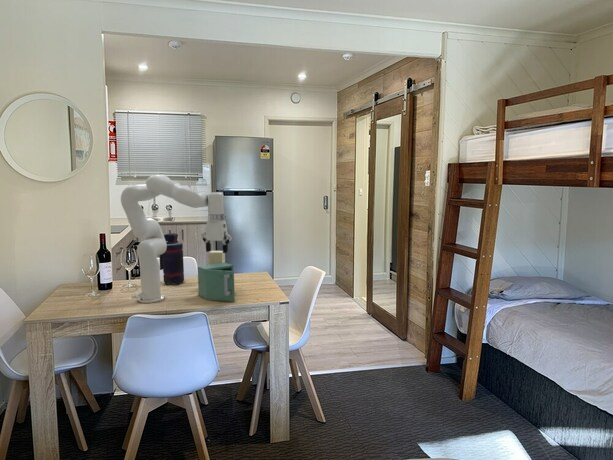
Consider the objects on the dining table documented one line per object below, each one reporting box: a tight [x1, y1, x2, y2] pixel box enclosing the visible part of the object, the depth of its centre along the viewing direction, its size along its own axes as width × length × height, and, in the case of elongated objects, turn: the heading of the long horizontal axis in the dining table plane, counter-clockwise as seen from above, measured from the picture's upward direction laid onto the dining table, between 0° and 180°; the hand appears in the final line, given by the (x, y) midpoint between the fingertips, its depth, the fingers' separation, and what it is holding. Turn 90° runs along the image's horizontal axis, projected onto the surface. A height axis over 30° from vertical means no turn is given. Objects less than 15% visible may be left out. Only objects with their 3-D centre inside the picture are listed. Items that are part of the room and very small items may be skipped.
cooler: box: [197, 262, 234, 300], centre depth 239 cm, size 10×16×16 cm, turn 126°
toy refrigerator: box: [207, 250, 226, 265], centre depth 256 cm, size 8×7×21 cm
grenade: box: [158, 232, 185, 286], centre depth 267 cm, size 14×12×30 cm
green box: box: [205, 270, 236, 303], centre depth 225 cm, size 6×16×16 cm, turn 71°
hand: (216, 252), depth 221 cm, fingers open, 9 cm apart
